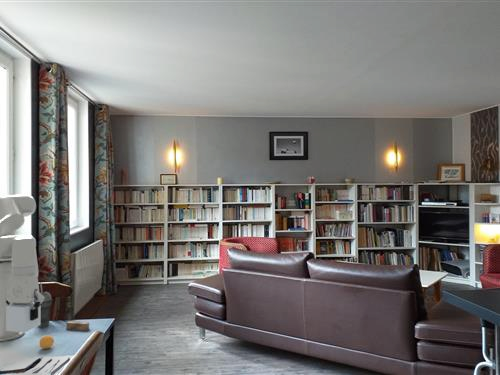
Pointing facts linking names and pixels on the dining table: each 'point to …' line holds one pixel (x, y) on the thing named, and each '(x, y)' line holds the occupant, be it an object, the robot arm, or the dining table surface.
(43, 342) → the ball
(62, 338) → the dining table surface
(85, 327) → the rail
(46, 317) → the beverage cup
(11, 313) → the white squarish block
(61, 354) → the dining table surface
